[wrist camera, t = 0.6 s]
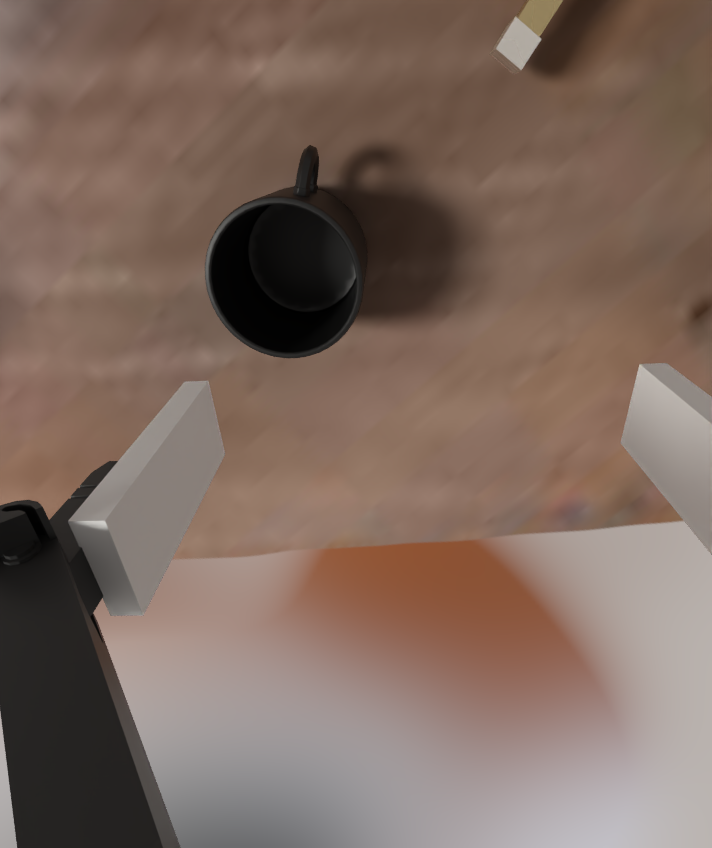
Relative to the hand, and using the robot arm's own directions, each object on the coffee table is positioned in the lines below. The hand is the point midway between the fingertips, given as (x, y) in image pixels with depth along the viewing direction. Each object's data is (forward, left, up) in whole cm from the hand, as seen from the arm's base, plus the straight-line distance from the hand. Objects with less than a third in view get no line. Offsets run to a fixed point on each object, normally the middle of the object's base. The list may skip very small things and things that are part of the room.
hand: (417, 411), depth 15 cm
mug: (-4, -5, -24) cm, 25 cm away
